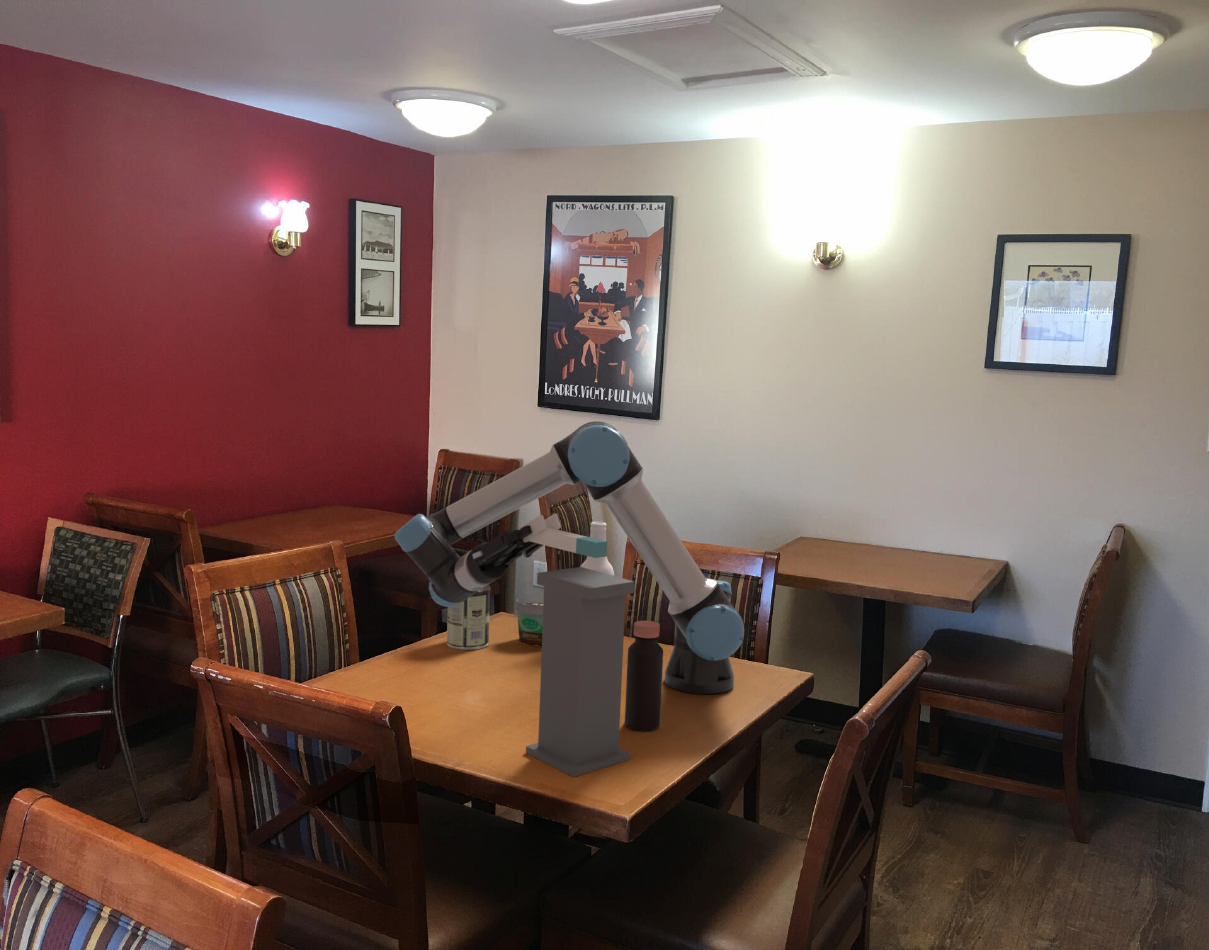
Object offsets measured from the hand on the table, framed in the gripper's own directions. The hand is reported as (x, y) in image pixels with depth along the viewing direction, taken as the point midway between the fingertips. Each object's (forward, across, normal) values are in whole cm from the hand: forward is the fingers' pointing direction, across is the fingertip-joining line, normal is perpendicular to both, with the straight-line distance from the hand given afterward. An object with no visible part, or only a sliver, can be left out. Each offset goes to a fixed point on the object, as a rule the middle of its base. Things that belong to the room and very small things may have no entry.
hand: (550, 521), depth 179 cm
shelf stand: (-12, 0, -40) cm, 42 cm away
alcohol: (-58, -51, -13) cm, 78 cm away
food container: (-64, -38, -10) cm, 75 cm away
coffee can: (-71, -24, -6) cm, 75 cm away
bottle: (-15, -20, -38) cm, 46 cm away
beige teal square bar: (+1, 0, -5) cm, 5 cm away
